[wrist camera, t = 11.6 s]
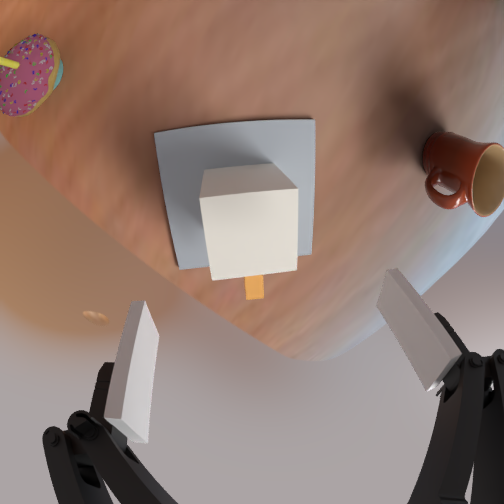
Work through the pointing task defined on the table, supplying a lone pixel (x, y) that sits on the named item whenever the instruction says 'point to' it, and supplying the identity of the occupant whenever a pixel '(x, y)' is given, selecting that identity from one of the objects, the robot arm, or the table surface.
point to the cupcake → (29, 75)
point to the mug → (464, 172)
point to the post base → (227, 155)
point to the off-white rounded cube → (249, 223)
